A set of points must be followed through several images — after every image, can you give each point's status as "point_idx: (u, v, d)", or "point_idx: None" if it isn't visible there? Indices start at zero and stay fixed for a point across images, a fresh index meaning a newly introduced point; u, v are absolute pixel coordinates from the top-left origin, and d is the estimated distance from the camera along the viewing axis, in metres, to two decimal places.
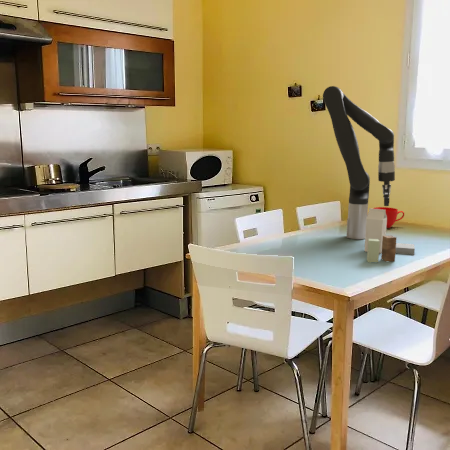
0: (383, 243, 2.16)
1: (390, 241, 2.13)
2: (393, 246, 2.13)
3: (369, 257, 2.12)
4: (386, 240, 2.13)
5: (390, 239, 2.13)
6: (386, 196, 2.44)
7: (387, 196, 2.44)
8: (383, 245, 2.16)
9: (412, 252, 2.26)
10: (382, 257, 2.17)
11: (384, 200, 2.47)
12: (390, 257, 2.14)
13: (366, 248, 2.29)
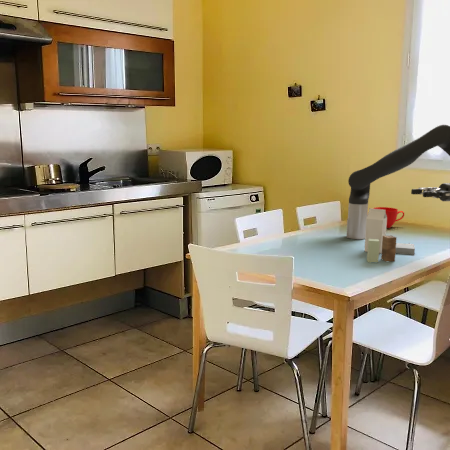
0: (383, 243, 2.16)
1: (390, 241, 2.13)
2: (393, 246, 2.13)
3: (369, 257, 2.12)
4: (386, 240, 2.13)
5: (390, 239, 2.13)
6: (438, 195, 2.07)
7: (438, 196, 2.08)
8: (383, 245, 2.16)
9: (412, 252, 2.26)
10: (382, 257, 2.17)
11: (430, 192, 2.09)
12: (390, 257, 2.14)
13: (366, 248, 2.29)
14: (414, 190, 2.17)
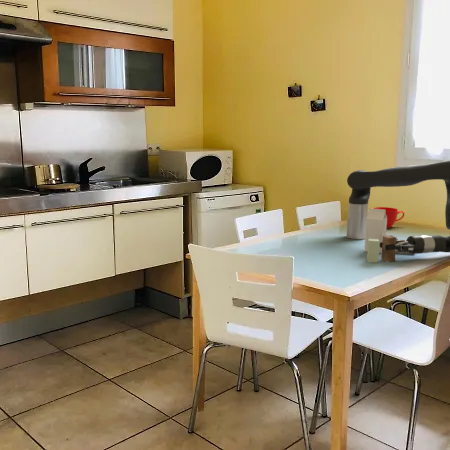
0: (383, 243, 2.16)
1: (390, 241, 2.13)
2: None
3: (369, 257, 2.12)
4: (387, 240, 2.13)
5: (390, 239, 2.13)
6: (400, 248, 2.11)
7: (399, 250, 2.11)
8: (383, 245, 2.16)
9: None
10: (382, 257, 2.17)
11: (392, 245, 2.12)
12: (390, 257, 2.14)
13: (366, 248, 2.29)
14: None
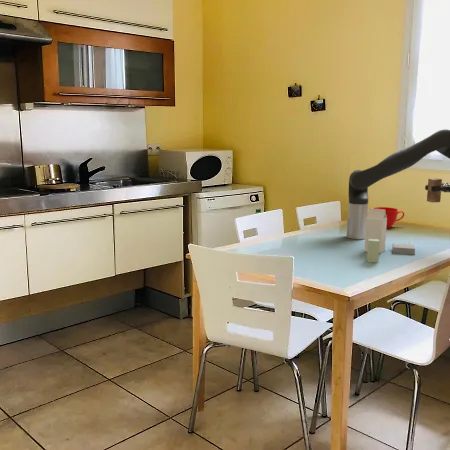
0: (429, 185, 2.28)
1: (436, 183, 2.26)
2: None
3: (369, 257, 2.12)
4: (433, 182, 2.26)
5: (436, 181, 2.25)
6: (445, 189, 2.24)
7: (445, 190, 2.24)
8: (429, 187, 2.29)
9: (412, 252, 2.26)
10: (428, 199, 2.30)
11: (437, 186, 2.25)
12: (436, 198, 2.27)
13: (366, 248, 2.29)
14: None
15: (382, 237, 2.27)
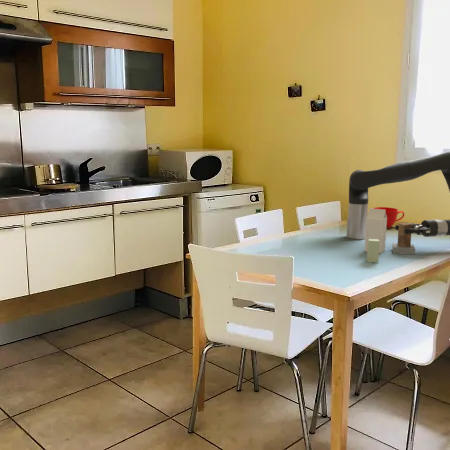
0: (399, 230, 2.30)
1: None
2: None
3: (369, 257, 2.12)
4: (403, 227, 2.27)
5: (406, 226, 2.27)
6: (418, 232, 2.24)
7: (418, 233, 2.24)
8: (399, 232, 2.30)
9: (413, 252, 2.26)
10: (398, 243, 2.31)
11: (411, 229, 2.25)
12: (406, 243, 2.29)
13: (366, 248, 2.29)
14: (398, 226, 2.32)
15: (382, 237, 2.27)
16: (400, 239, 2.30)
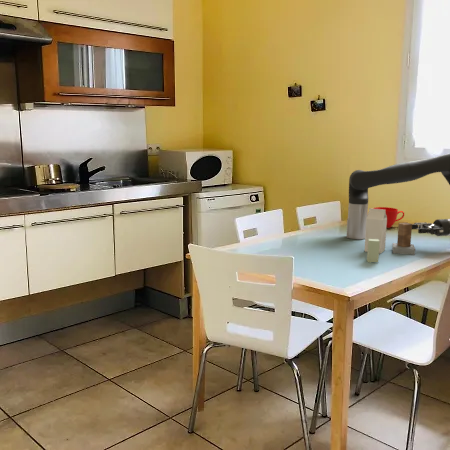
0: (399, 230, 2.30)
1: (406, 228, 2.27)
2: (409, 232, 2.28)
3: (369, 257, 2.12)
4: (403, 227, 2.27)
5: (406, 226, 2.27)
6: (432, 231, 2.24)
7: (432, 232, 2.24)
8: (399, 232, 2.30)
9: (413, 252, 2.26)
10: (398, 243, 2.31)
11: (424, 228, 2.26)
12: (406, 243, 2.29)
13: (366, 248, 2.29)
14: None
15: (382, 237, 2.27)
16: (400, 239, 2.30)
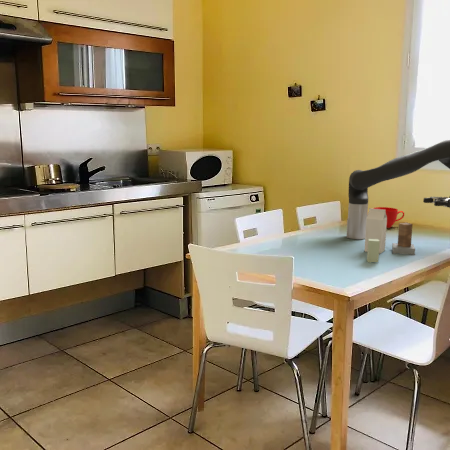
0: (400, 230, 2.30)
1: (407, 228, 2.27)
2: (409, 232, 2.28)
3: (369, 257, 2.12)
4: (404, 227, 2.27)
5: (407, 226, 2.27)
6: (449, 204, 2.23)
7: (448, 205, 2.23)
8: (400, 232, 2.30)
9: (413, 252, 2.26)
10: (399, 243, 2.31)
11: (441, 201, 2.25)
12: (407, 243, 2.29)
13: (366, 248, 2.29)
14: (426, 199, 2.33)
15: (382, 237, 2.27)
16: (401, 239, 2.30)
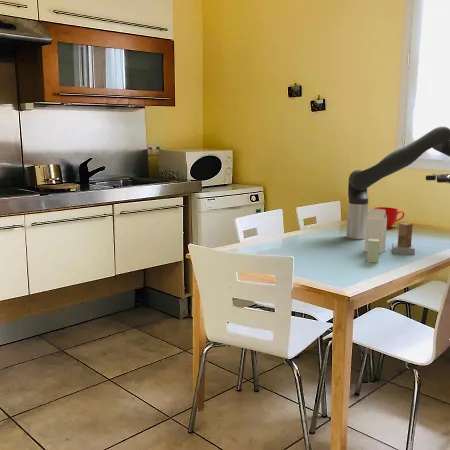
0: (400, 230, 2.30)
1: (407, 228, 2.27)
2: (410, 232, 2.28)
3: (369, 257, 2.12)
4: (404, 227, 2.27)
5: (407, 226, 2.27)
6: None
7: None
8: (400, 232, 2.30)
9: (412, 252, 2.26)
10: (399, 243, 2.31)
11: (443, 177, 2.23)
12: (407, 243, 2.29)
13: (366, 248, 2.29)
14: (428, 176, 2.31)
15: (382, 237, 2.27)
16: (401, 239, 2.29)
